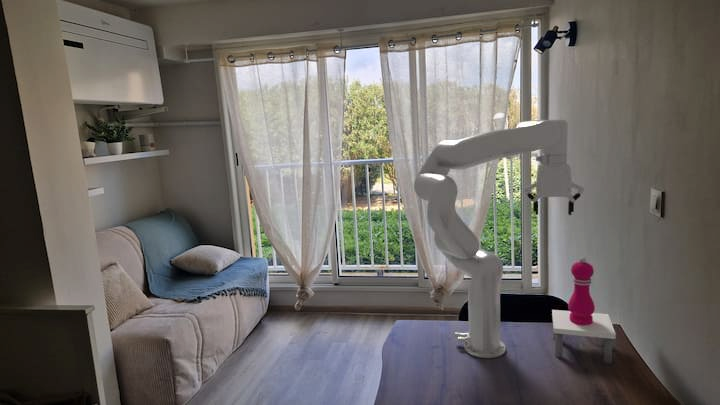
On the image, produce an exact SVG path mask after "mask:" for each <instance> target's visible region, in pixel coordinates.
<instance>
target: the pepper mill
mask: <svg viewBox="0 0 720 405" xmlns="http://www.w3.org/2000/svg"><path fill="white" fill-rule="evenodd" d="M594 272H595V270H594V267H593V265H592V264H590V263H589V262H587V259H586V257H584V256H580V257H579V260H578V261H576V262H574V263H573V265H571V269H570V273H571V274H572V276H573V277H572V283H573V284H574V285H573V286H574V289H573V293H572V295H571V296H570V298H569V301H568V304H567V308H568V311H570V312H571V313H570V321H571V322H572V323H575V324H578V325H590V324H592V322H593V317H592V314H593V313H595V310H596V309H595V303H594V300H593V299H592V296H591V294H590V285H591V284H592V277H593V275H594Z"/></svg>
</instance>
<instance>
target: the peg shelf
mask: <svg viewBox="0 0 720 405" xmlns="http://www.w3.org/2000/svg"><path fill="white" fill-rule="evenodd" d="M551 312H552V313H551V316H552V317H551V319H552V328H553V341H555V345H554V346H555V348H554V354H555V355H554V356H555V358H557V359H562V358H563V357H564V356H563V351H564V350H563V349H564V348H563V346H564V343H563V341H564V335H570V336H581V337H591V338H598V345H599V346H602V347H604V349H603V362H604V364H607V365H610V364H612V362H613V340H616V336H617V333H616V331H615V329H614V326H613V324H612V321H611V317H610V316H609V314H608V313H596V312H594V313H593V314H592V317H593V322H592V324H590V325H578V324H575V323H572V322H571V321H570V313H571V312H570V310H561V309H560V310H559V309H551Z"/></svg>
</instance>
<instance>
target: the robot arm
mask: <svg viewBox="0 0 720 405" xmlns="http://www.w3.org/2000/svg"><path fill="white" fill-rule="evenodd" d="M568 124H569V123H568V122H567V120H566V119H536V120H535V119H533V120H525V121H522V122H520V123H518V125H517V126H516V127H515V128H504V129H503V128H502V129H494V130H493V129H492V130H489V131H485V132H482V133H479V134H475V135H472V136H468V137H467V136H466V137H464V138H461V139H456V140H454V139H451V140H450V139H447V140H446V139H445V140H442V141H440V142H439V143H438V144H437V145H436V146H435V147H434V148H433V149H432V151H431V152H430V154H429V155H428V157H427V158H426V161H425V162H424V163H423V165H422V167H421V168H420V170H419V172H418V174H417V175H416V176H415V180H414V183H413V189H414V190H413V191H414V192H415V194H416V196H417V197H419V198H420V199H421V200H424V201H427V202H428V205H427V210H426V211H427V212H426V215H427V216H426V218H427V223H428V225H429V227H430V228H431V230H432V231H433V232H434V234H433V236H434V239H433V240H434V243H435V245H436V248H437V249H438V250H439V251H440V253H441V254H442V255H444V257H445V258H446V259H447V260H448V262H450V264H451V265H453V266H454V268H455V269H456V270H457V271H459V272H460V273H462V274H463V275H466V276H468V277H469V278H471V282H470V285H469V288H468V292H467V304H468V305H467V309H468V310H467V311H468V331H465V332H457V331H455V332H454V338H455V339H457V342H459V343H462V342H463V348H464V351H465V352H466V353H468V354H469V355H471V356H474V357H476V358H483V359H494V358H498V357H501V356H502V355H503V354H505V352H506V350H507V349H506V345H505V343H504V342H503V341H501V284H502V279H503V274H504V264H503V262H502V260H501V259H500V258H499V256H497V255H496V254H494V253H493V252H490V251H488V250H486V249H484V248H480V241H479V239H478V237H477V235H476V234H475V233H474V232H473V231H472V229H470V227H469V226H468V225H467V224H466V222H464V220H463V219H462V217H461V216H460V215H459V214H458V213H457V210H456V201H457V198H458V185H457V182H456V181H455V180H454V179H453V178H452V177H451V176H449V175H448V174H449V172H450V171H451V170H457V171H458V170H460V171H461V170H465V169H468V168H469V169H470V168H472V167H476V166H479V165H482V164H485V163H488V162H491V161H495V160H498V159H503V158H508V157H509V158H510V157H513V156H517V155H523V154H528V153H531V152H536V151H539V150H540V155H539V156H535V161H536V162H539V163H540V164H538V166H537V171H536V178H535V179H536V180H535V182H534V183H532V184H530V185H527V186H525V187H524V192H525V194H526V196H527V197H528V199H529V200H531V201H532V204H533V208H532V209H533V210H532V212H535V215H539V201H538V200H539V199H540V198H567V199H568V200H569V201H568V202H567V203H568V204H567V208H568V209H567V213H568V216H572V213H574V210H575V207H574V206H575V202H576V201H577V200H578V199H579V198H580V197H581V196H582V194H583V193H584V191H585V188H584V187H583V186H581V185H578V184H577V183H574V182H572V171H571V170H572V169H571V165H570V164H569V163H568V139H569V138H568V136H569V135H568V134H569V133H568V130H569V128H568V127H569V126H568ZM532 189H535V193H536V194H535V195H534V194H532V193H531V190H532ZM572 189H575V190H576V191H577V192H576V193H575V194H574V195H572V191H573V190H572Z"/></svg>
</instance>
